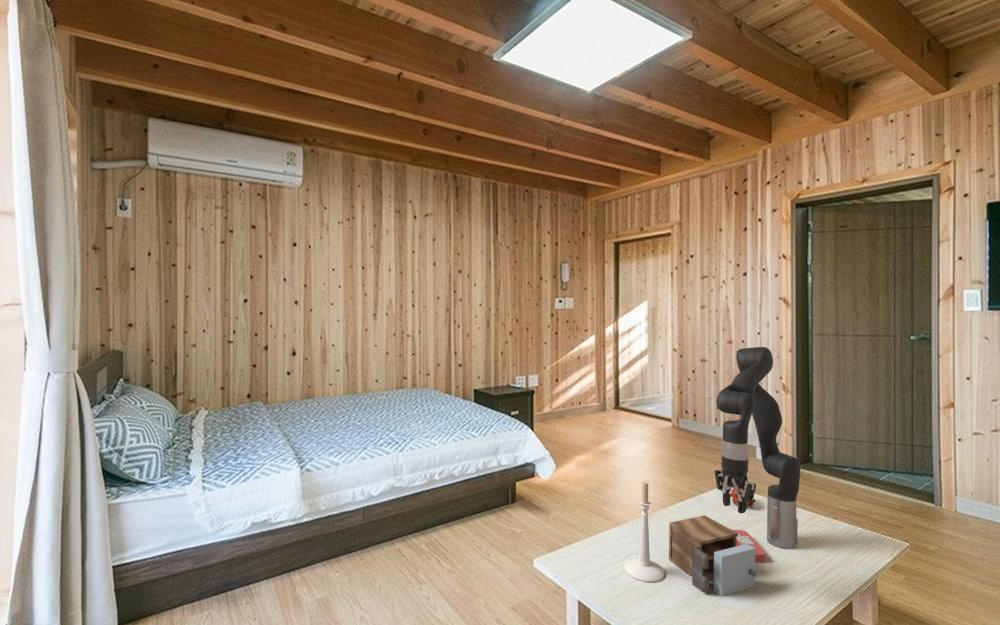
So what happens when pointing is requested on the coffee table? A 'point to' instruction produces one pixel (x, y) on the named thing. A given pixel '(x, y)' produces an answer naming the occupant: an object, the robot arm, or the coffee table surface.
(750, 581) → the door
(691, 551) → the cabinet
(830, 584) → the coffee table surface
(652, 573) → the candlestick
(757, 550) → the plaque
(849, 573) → the coffee table surface
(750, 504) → the dragon fruit
